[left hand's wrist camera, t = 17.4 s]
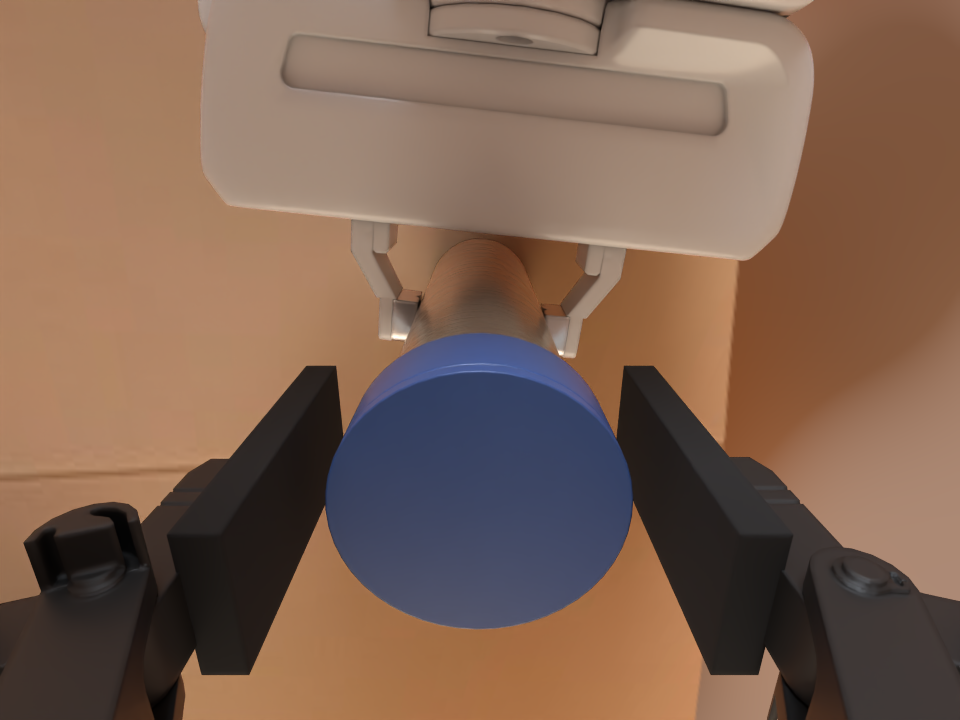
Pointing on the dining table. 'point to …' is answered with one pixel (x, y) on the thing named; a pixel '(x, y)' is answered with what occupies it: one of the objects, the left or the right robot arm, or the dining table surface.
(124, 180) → the dining table surface
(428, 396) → the lid
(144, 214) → the dining table surface
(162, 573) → the left robot arm
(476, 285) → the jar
